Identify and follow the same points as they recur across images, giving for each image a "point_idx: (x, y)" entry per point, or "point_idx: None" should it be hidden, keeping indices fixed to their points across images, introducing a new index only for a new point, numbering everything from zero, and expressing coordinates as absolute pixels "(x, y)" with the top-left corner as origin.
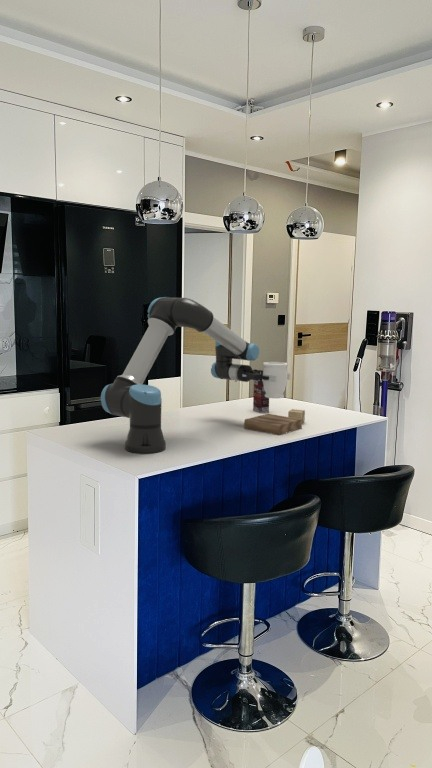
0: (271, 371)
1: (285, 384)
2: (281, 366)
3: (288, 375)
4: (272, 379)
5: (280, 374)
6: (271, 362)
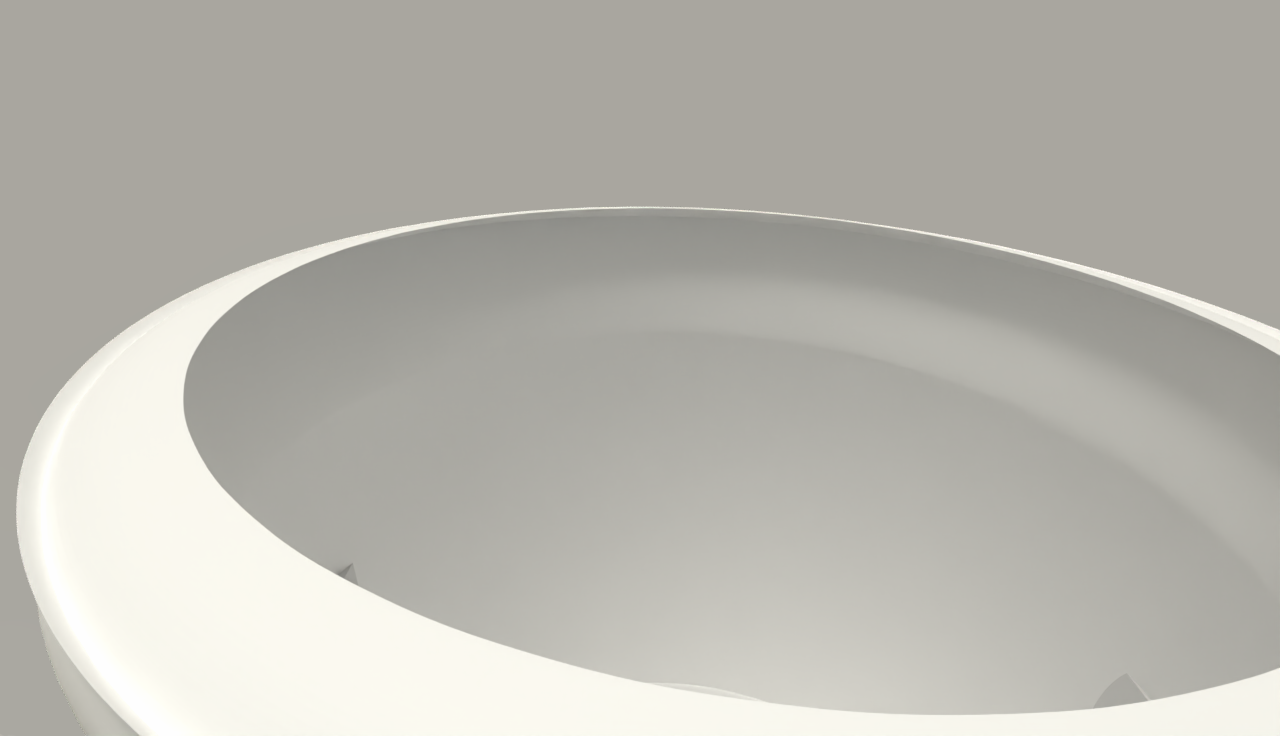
0: (1101, 536)
1: (613, 669)
2: (846, 278)
3: None
4: None
5: (840, 479)
6: (141, 702)
